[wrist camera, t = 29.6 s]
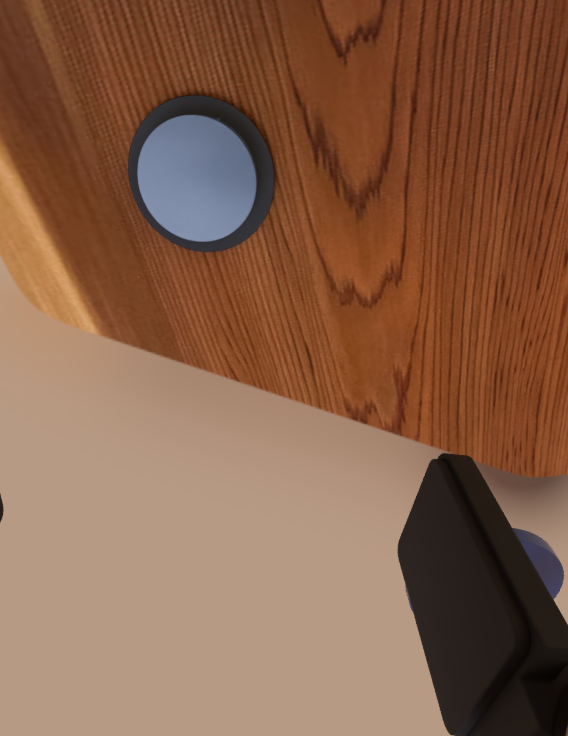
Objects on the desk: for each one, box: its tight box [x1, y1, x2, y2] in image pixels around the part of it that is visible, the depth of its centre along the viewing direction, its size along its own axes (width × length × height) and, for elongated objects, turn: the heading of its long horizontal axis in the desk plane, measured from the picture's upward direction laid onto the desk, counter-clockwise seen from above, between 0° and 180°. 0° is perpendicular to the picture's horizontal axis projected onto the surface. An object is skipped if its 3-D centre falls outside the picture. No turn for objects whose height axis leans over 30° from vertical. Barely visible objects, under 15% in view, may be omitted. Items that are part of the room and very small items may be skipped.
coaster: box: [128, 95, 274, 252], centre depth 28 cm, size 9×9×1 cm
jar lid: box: [137, 114, 257, 242], centre depth 27 cm, size 7×7×2 cm
